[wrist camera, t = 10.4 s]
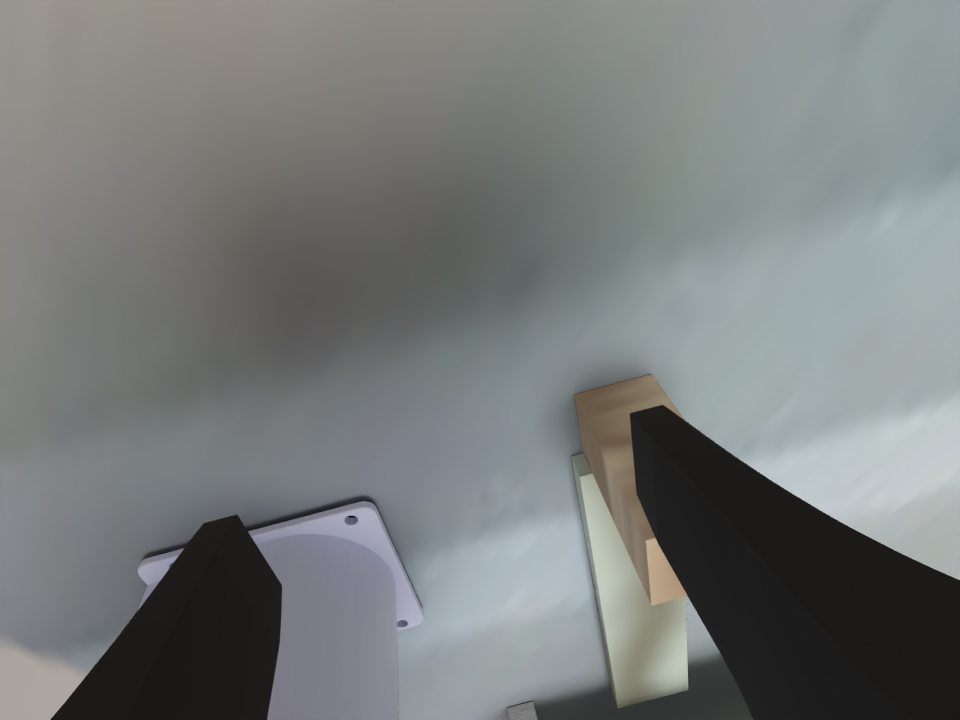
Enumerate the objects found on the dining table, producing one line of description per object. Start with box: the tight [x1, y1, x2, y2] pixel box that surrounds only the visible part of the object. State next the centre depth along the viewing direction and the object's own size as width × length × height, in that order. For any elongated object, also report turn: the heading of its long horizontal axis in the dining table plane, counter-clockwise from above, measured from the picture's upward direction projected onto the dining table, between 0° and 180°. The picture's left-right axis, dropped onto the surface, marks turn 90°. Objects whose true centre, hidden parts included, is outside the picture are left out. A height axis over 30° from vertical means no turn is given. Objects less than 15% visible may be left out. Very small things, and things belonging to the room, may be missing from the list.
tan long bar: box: [571, 374, 688, 709], centre depth 24 cm, size 4×21×7 cm, turn 12°
